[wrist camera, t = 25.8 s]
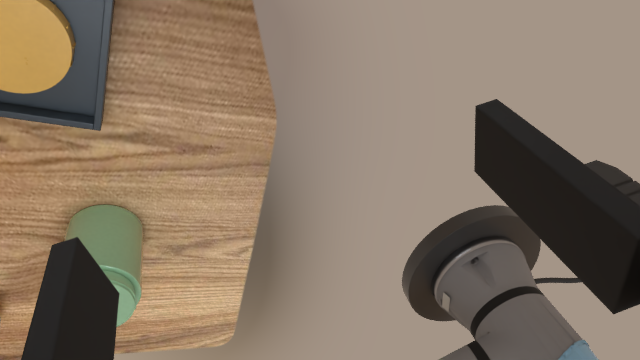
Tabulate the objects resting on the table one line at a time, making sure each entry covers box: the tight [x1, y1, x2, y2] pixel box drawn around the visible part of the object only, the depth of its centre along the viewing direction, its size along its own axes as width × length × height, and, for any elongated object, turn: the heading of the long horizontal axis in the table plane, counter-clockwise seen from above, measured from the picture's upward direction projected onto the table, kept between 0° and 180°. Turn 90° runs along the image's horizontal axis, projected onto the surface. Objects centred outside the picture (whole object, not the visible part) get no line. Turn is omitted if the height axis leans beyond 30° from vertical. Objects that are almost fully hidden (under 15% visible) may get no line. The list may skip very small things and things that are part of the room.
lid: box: [0, 0, 76, 94], centre depth 36 cm, size 8×8×2 cm
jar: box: [63, 205, 144, 327], centre depth 46 cm, size 8×8×10 cm
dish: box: [0, 0, 114, 131], centre depth 37 cm, size 13×13×2 cm
